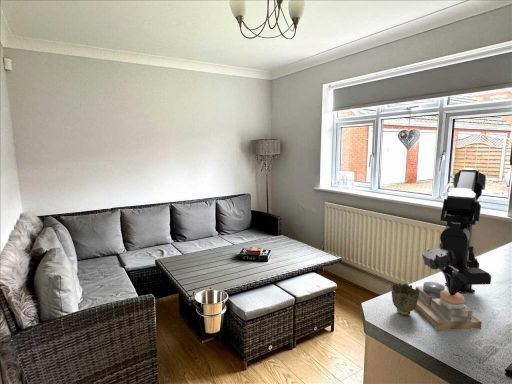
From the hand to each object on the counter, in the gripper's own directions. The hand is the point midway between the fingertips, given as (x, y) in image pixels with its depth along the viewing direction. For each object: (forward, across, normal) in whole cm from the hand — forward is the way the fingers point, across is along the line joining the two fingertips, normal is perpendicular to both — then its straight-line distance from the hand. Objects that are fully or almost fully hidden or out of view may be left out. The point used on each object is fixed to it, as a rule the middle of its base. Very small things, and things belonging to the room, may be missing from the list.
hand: (452, 294), depth 86 cm
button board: (+8, -4, 0) cm, 9 cm away
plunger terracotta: (+4, 0, 0) cm, 4 cm away
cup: (+8, -4, -11) cm, 14 cm away
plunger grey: (+5, -8, 0) cm, 10 cm away
